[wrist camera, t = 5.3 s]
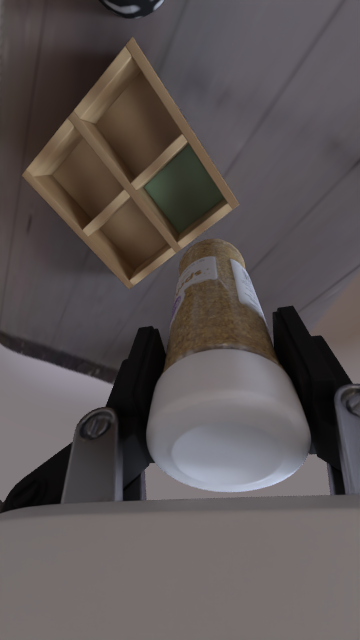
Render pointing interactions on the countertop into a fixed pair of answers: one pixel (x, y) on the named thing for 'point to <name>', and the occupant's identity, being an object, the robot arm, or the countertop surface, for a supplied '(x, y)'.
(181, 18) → the countertop surface
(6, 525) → the robot arm
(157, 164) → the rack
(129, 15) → the spotted tube
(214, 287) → the sprinkles bottle
